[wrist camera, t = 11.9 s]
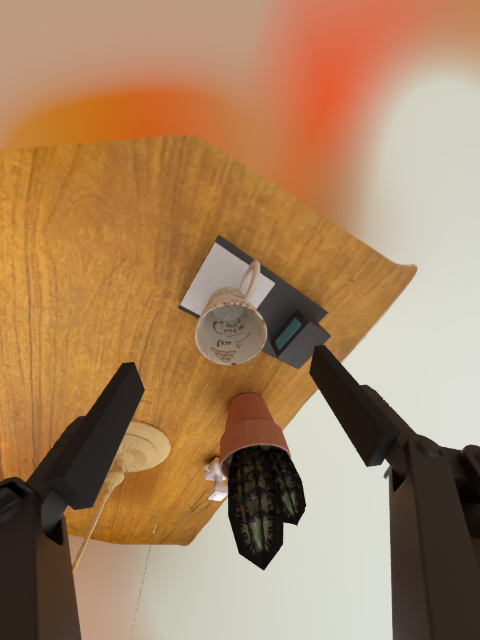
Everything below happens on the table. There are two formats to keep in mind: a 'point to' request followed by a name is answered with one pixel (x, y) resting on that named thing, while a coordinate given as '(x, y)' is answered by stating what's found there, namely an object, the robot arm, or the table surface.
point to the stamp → (215, 481)
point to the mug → (232, 324)
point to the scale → (261, 303)
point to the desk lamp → (131, 463)
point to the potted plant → (258, 479)
